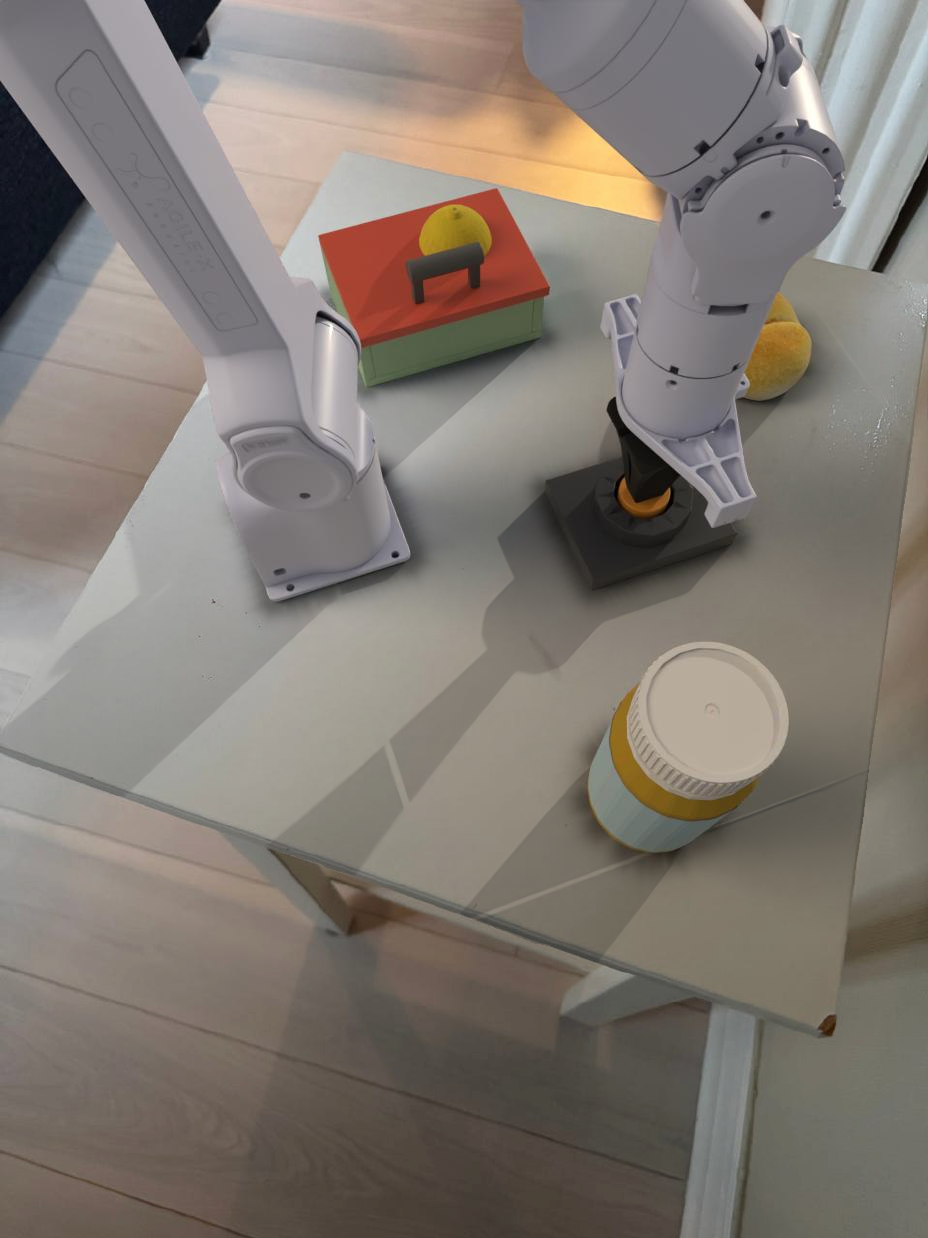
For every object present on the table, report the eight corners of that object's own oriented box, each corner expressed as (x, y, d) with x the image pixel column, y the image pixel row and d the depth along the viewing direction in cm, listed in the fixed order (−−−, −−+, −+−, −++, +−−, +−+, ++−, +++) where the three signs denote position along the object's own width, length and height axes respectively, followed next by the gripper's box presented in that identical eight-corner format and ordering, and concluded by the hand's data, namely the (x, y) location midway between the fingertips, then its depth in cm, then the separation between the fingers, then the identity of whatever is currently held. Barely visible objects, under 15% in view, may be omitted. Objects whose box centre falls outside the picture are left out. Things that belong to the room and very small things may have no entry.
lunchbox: (541, 337, 62) (545, 287, 57) (366, 388, 60) (357, 340, 56) (496, 250, 66) (497, 197, 61) (331, 295, 64) (319, 244, 60)
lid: (549, 295, 57) (554, 247, 53) (360, 348, 55) (351, 303, 52) (497, 196, 61) (498, 146, 57) (319, 243, 60) (309, 194, 56)
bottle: (622, 876, 46) (681, 823, 32) (565, 762, 48) (597, 668, 35) (731, 824, 47) (834, 752, 33) (670, 715, 49) (742, 607, 36)
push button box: (590, 591, 53) (596, 569, 50) (544, 491, 56) (547, 465, 53) (731, 544, 54) (745, 520, 51) (678, 449, 57) (688, 422, 55)
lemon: (494, 326, 62) (495, 237, 55) (420, 327, 62) (411, 238, 55) (493, 272, 64) (495, 179, 57) (422, 272, 64) (414, 180, 57)
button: (627, 532, 53) (632, 518, 51) (607, 492, 54) (611, 477, 53) (673, 517, 53) (679, 502, 52) (652, 478, 55) (657, 463, 53)
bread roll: (717, 417, 58) (732, 378, 55) (671, 324, 62) (683, 282, 58) (825, 391, 59) (848, 351, 55) (774, 300, 63) (792, 258, 59)
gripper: (847, 423, 37) (757, 566, 50) (703, 212, 43) (654, 387, 55) (705, 469, 36) (649, 602, 49) (578, 246, 42) (557, 416, 55)
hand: (645, 490), depth 52 cm, fingers closed, pressing on button
